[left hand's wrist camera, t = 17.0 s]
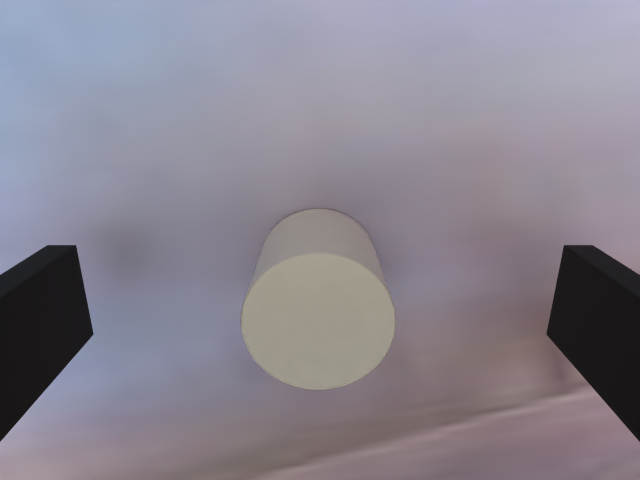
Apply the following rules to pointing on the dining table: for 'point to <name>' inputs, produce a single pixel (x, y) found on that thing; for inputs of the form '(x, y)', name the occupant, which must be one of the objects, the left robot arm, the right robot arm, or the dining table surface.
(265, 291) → the cylinder
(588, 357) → the left robot arm
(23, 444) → the dining table surface
